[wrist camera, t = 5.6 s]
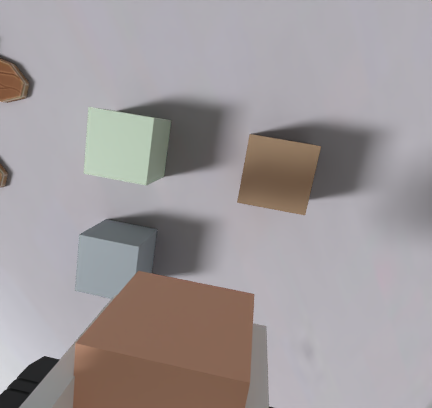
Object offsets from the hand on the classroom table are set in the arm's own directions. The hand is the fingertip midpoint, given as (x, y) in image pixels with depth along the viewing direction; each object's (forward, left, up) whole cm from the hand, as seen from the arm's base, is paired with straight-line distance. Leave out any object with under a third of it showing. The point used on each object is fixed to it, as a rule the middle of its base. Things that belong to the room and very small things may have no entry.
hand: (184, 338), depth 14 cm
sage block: (-6, -9, -17) cm, 20 cm away
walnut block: (-6, +3, -17) cm, 18 cm away
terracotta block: (0, 0, 0) cm, 0 cm away
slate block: (+4, -9, -17) cm, 19 cm away
